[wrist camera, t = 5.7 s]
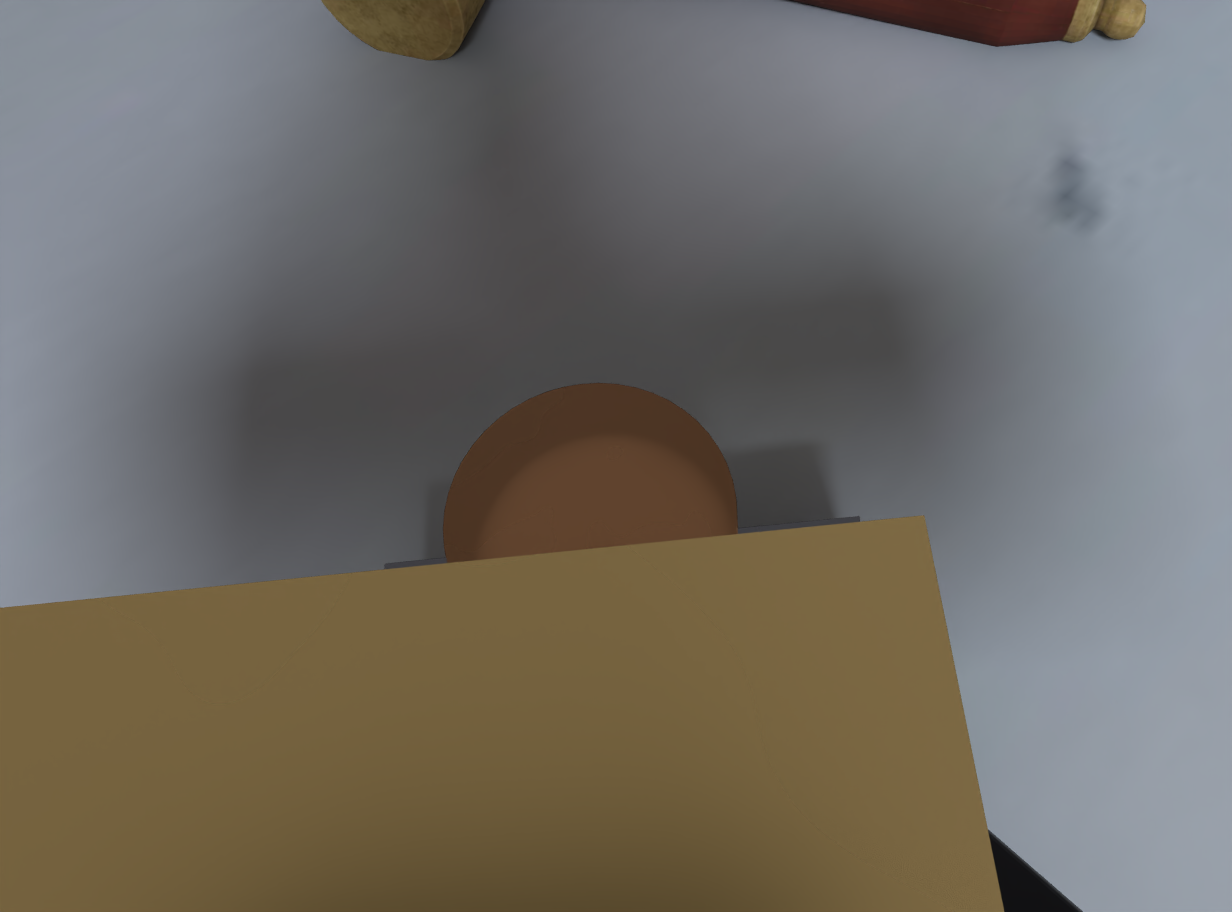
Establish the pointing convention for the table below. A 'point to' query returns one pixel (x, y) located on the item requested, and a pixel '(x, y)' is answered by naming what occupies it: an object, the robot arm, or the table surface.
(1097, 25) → the gavel
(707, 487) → the plane body
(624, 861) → the brushed brass block
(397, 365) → the table surface
